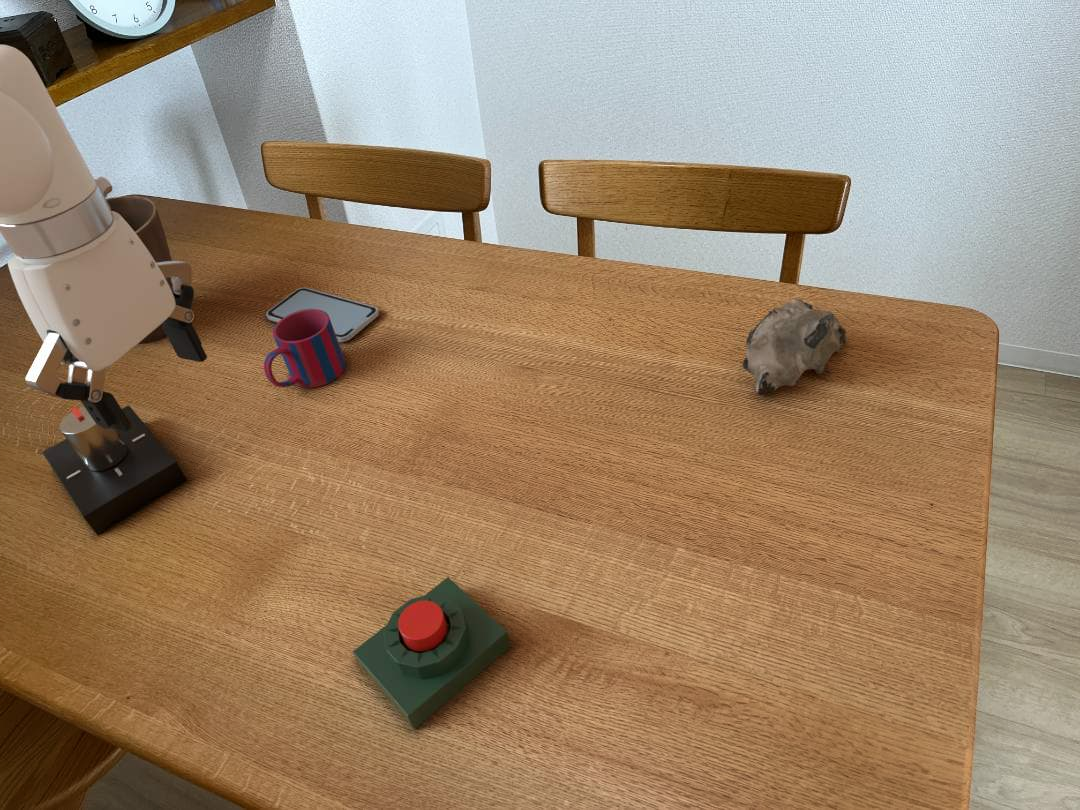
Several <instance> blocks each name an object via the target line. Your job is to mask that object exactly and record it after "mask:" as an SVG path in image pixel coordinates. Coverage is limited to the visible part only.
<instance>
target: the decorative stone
mask: <svg viewBox="0 0 1080 810" xmlns="http://www.w3.org/2000/svg"><path fill="white" fill-rule="evenodd" d="M846 333H847V331H846V329H845V328H844V327H842V325H841V323H840V321H839V320H838V318H837V316H836V315H835V314H834V312H832V311H828V310H822V309H821V310H820V309H814V305H812V304H810V303H808V302H806V301H805V302H804V300H803V299H800V298H794V299H793V300H791V301H790V302H786V303H784V304H783V305H781V306H780V307H775V308H772V309H771V310H770V311H769V312H768V313H767V314H766V315H765V316H764V317H763V319H761V320H760V322H759V323H758V324H757V325H756V326H755V327H754V328H753V329H752V330H750V331H749V333H748V336H747V337H746V340H745V346H746V355H745V359H743V362H742V364H741V366H742V368H743V369H744V370H745V371H747V372H748V373H750V375H752V376H753V378H754V381H755V393H756V394H757V395H759V396H760V397H764V396H768V395H772V394H773V393H775V391H776V390H777V389H778V388H780V387H781V386H788V387H789V386H790V387H794V386H795V385H797V384H798V382H799V380H800V378H801V376H802V375H803V374H804V372H805V371H806V370H813V371H814V373H815V374H817V375H821V374H823V372H824V371H825V367H826V364H827V363H828V362H829V360H830V358H831V356H832V355H833V354H834V353H835V352H839V351H840V350H841V349H842V348H844V345H845V344H846V343H847V341H846V340H847V335H846Z"/></svg>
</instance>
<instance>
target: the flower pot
mask: <svg viewBox="0 0 1080 810" xmlns="http://www.w3.org/2000/svg"><path fill="white" fill-rule="evenodd" d="M106 200H107V202H108V204H109V206H110V207H111V209H110V210H111V211H114V212H117V213H118V214H120V215H121V217H122V218H123V219H124V220H125V221H126V222H127V223H128V225H129V226H130V227H131V228H132V229H133V231H134V232H135V233H136V234H137V236H138V237H139V238H140V240H141V241H142V242H143V244H144V245H145V247H146V248H147V250H148V251H149V252H150V254H151V255H152V257H153V259H154V260H155V262H156V263H157V262H167V261H173V260H172V255H171V251H170V247H169V244H168V240H167V236H166V232H165V229H164V227H163V224H162V221H161V217H160V214H159V211H158V209H157V206H156V204H155V202H154V201H153V200H151V199H150V198H147V197H143V196H138V195H123V196H115V197H114V196H113V197H108V198H106ZM165 279H166V281H167V283H168V285H169V286H170V289H171V287H172V285H173V283H172V282H171V278H165ZM165 336H166V334H165V332H164V330H163V328H162V324H161V325H159V326H158V327H157V328H156V329H155V330H153V331H152V332H151V333H150V334H149V335H147V336H146V337H145V338H144V339H143V340H142V341H140V342H139V343H138V344H145V343H146V344H147V343H150V342H154V341H156V340H159V339H161V338H163V337H165Z"/></svg>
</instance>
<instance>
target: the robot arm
mask: <svg viewBox="0 0 1080 810" xmlns="http://www.w3.org/2000/svg"><path fill="white" fill-rule="evenodd" d="M69 131H70V130H68V127H67V126H66V123H65V121H64V120H63V118H62V116H61V114H60V113H59V110H58V108H57V107H56V105H55V103H54V101H53V99H52V97H51V95H50V93H49V91H48V89H47V87H46V86H45V84H44V82H43V80H42V78H41V76H40V75H39V73H38V71H37V69H36V68H35V66H34V64H33V63H32V61H31V60H30V59H29V57H28V56H26V55H25V54H24V53H23V52H22V51H21V50H19V49H17V48H16V47H14V46H10V45H7V44H0V234H1V236H2V238H3V239H4V240H5V243H6V244H7V245H8V247H9V248H10V250H11V251H12V253H13V254H14V256H13V257H11V258H10V259H9V260H8V261H7V266H8V270H9V273H10V276H11V279H12V282H13V284H14V287H15V289H16V292H17V294H18V297H19V299H20V301H21V304H22V305H23V308H24V309H25V311H26V314H27V315H28V317H29V319H30V321H31V323H32V324H33V326H34V328H35V330H36V332H37V334H38V335H39V337H40V339H41V340H42V342H43V343H42V344H41V348H40V349H39V351H38V353H37V355H36V357H35V359H34V361H33V363H32V365H31V367H30V368H29V370H28V372H27V373H26V376H25V380H24V381H25V384H26V385H28V386H29V387H32V388H34V389H36V390H38V391H40V392H43V393H46V394H48V395H49V396H51V397H56V398H60V399H64V400H69V401H79V402H81V404H82V405H83V407H85V408H86V410H87V411H88V413H89V414H90V416H91V417H92V419H93V420H94V421H95V423H96V424H97V425H99V426H100V427H102V428H105V429H109V428H111V429H115V430H119V431H123V432H127V431H128V430H129V429H131V423H130V421H129V420H128V418H127V417H126V415H125V413H124V412H123V410H122V407H121V405H120V404H119V402H118V401H117V399H116V398H115V396H114V394H112V393H111V392H108V391H104V388H105V381H106V371H107V369H108V368H110V367H111V366H112V365H114V364H115V363H116V362H118V361H119V360H120V359H121V358H122V357H124V356H125V355H126V354H127V353H128V352H130V351H131V350H132V349H133V348H134V347H136V346H137V345H138V344H140V343H139V342H140V341H142V340H143V339H144V338H145V337H146V336H147V335H149V334H150V333H151V332H152V331H153V330H155V329H156V328H157V327H158V326H159V325H161V324H162V328H163V330H164V332H165V334H166V335H165V336H166V338H167V339H168V341H169V343H170V345H171V348H172V349H173V350H174V352H175V354H176V356H177V357H178V358H179V359H182V360H188V361H192V362H196V363H203V362H205V361H206V360H207V359H208V356H207V353H206V352H205V349H204V348H203V346H202V341H201V339H200V337H199V335H198V333H197V331H196V328H195V327H194V325H193V323H192V322H193V321H194V319H195V313H194V311H193V310H192V305H193V302H194V301H193V300H194V296H195V290H194V289H195V288H193V287H192V283H193V280H192V279H193V278H192V277H193V276H192V265H191V264H190V262H188V261H181V260H172V261H167V262H157V263H156V262H155V260H154V259H153V257H152V255H151V254H150V252H149V251H148V250H147V248H146V247H145V245H144V244H143V242H142V241H141V240H140V238H139V237H138V236H137V234H136V233H135V232H134V231H133V229H132V228H131V227H130V226H129V225H128V223H127V222H126V221H125V220H124V219H123V218H122V217H121V215H120V214H118V213H117V212H114V211H111V210H110V209H111V207H110V206H109V204H108V202H107V200H106V199H107V196H108V195H109V194H110V193H111V192H113V186H112V183H110V181H109V179H107V178H105V177H104V176H99V177H97V178H94V176H93V174H92V173H91V171H90V169H89V167H88V165H87V163H86V161H85V159H84V158H83V155H82V154H81V152H80V150H79V149H78V146H77V144H76V142H75V140H74V139H73V137H72V135H71V132H69ZM165 278H171V282H172V283H173V285H172V287H171V289H170V286H169V285H168V283H167V281H166V279H165ZM61 365H63V366H66V365H68V373H67V381H62V380H60V379H58V377H57V372H58V370H59V368H60V366H61Z"/></svg>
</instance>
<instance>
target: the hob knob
mask: <svg viewBox="0 0 1080 810" xmlns="http://www.w3.org/2000/svg"><path fill="white" fill-rule="evenodd" d="M70 410H71V412H69V413H68V414H67V415H66V416H65V417H64V418H62V420H61V422H60V424H59V430H60V432H61V434H62V435H63V436H64V438H65V439H67V440H68V442H69V443H70V444H71V446H72V447H73V449H74V450H75V451H76V453H77V454H78V456H79V457H80V458H81V460H82V461H83V462H84V464H85V465H86V467H87V468H88V469H90V470H93V471H101V470H105V469H108V468H111V467H113V466H114V465H116V464H118V463H119V462H120V461H121V460H122V459H123V458H124V457H125V456H126V454H127V451H128V447H127V445H126V443H125V442H124V440H123V439H122V437H121V436H120V434H119V433H118V431H117V430H115V429H111V428H109V429H105V428H102V427H100V426H99V425H97V424H96V423H95V421H94V420H93V419H92V417H91V416H90V414H89V413H88V411H87V410H86V408H85V407H84V406H80V407H79V408H78V407H77V406H74V407H73V408H71V409H70Z"/></svg>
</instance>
